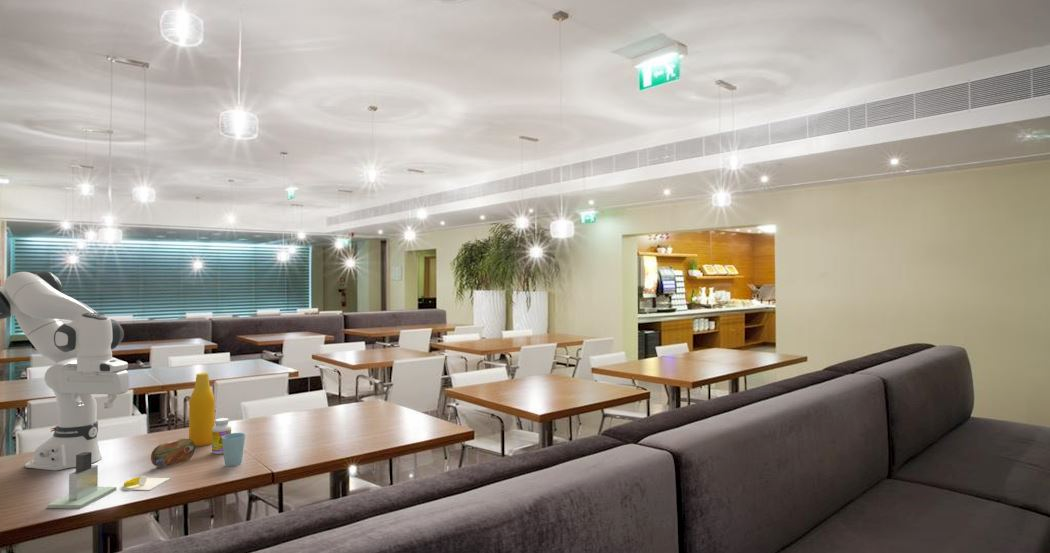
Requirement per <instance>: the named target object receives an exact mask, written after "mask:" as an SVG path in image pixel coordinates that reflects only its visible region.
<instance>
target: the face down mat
mask: <svg viewBox="0 0 1050 553" xmlns="http://www.w3.org/2000/svg"><path fill="white" fill-rule="evenodd" d="M146 479H147V481H146V483H145V484H144V485H139V484H138V485H134V486H130V487H124V488H122V489H121V490H122V491H144V492H145V491H151V490H153V489H155V488H157V487H159V486H160V485H162V484H165V483H166V482H167V481H170V480H171V478H170V477H146Z"/></svg>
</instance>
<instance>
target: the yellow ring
mask: <svg viewBox="0 0 1050 553" xmlns="http://www.w3.org/2000/svg"><path fill="white" fill-rule="evenodd" d="M146 478H147V476H146V475H142V476H136V477H134V478H130V479H129V480H126V481H124V483H123V485H124V488H126V487H130V486H134V485H138V484H139V485H144V484H145V483H146V481H147V479H146Z"/></svg>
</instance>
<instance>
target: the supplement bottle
mask: <svg viewBox="0 0 1050 553" xmlns="http://www.w3.org/2000/svg"><path fill="white" fill-rule="evenodd" d="M231 433H232V426H231V424H229V418H228V417H220V418H217V419H215V425H214V427H213V428H212V444H211V453H212V454H215V455H221V454H223V455H224V451H223V443H222V436H224V435H227V434H231Z"/></svg>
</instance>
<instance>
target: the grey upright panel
mask: <svg viewBox="0 0 1050 553" xmlns="http://www.w3.org/2000/svg"><path fill="white" fill-rule="evenodd" d="M91 455H92V452H83V453H80V454H78V455H76V467H75V471H73V472H72V473H69V474H68V495H69V500H71V501H77V500H79V499H81V498H83V497H85V496H87V495H89V494H91V493H93V492H95V491H97V489H98V487H99V486H98V484H99V483H98V481H99V478H98V475H99V472H98V467H99V466H98V465H97V464H92V463H91Z"/></svg>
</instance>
